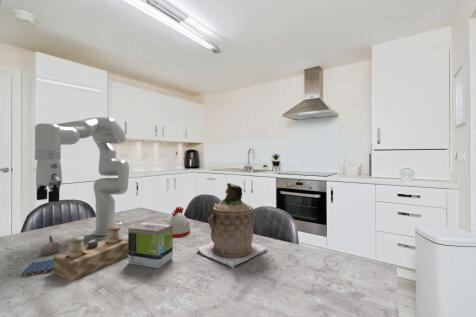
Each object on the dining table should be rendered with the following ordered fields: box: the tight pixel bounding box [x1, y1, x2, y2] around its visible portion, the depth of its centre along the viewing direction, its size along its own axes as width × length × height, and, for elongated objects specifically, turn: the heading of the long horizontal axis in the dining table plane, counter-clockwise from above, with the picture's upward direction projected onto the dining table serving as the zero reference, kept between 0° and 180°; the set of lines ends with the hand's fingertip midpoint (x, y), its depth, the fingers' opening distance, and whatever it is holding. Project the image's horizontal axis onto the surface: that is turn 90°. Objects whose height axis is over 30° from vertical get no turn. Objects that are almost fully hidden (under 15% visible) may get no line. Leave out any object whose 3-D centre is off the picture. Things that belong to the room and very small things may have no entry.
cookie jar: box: [195, 182, 268, 269], centre depth 101 cm, size 25×25×32 cm
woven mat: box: [19, 258, 54, 278], centre depth 86 cm, size 10×11×2 cm
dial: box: [86, 239, 99, 249], centre depth 91 cm, size 4×4×3 cm
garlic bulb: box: [40, 235, 61, 256], centre depth 100 cm, size 8×7×8 cm
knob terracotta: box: [107, 226, 121, 245], centre depth 97 cm, size 5×5×8 cm
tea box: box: [127, 221, 174, 269], centre depth 92 cm, size 15×10×15 cm
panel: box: [53, 237, 128, 281], centre depth 90 cm, size 24×12×6 cm, turn 154°
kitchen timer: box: [166, 206, 191, 238], centre depth 127 cm, size 14×14×15 cm
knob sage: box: [67, 236, 85, 260], centre depth 84 cm, size 5×5×8 cm
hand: (47, 200), depth 84 cm, fingers open, 9 cm apart
